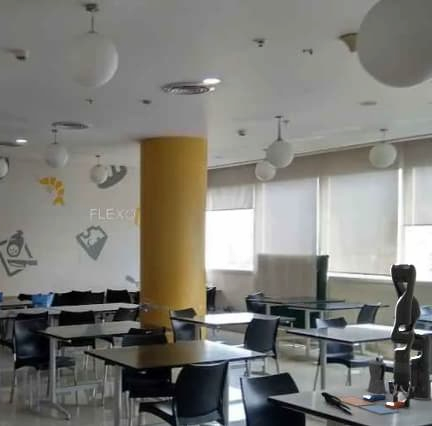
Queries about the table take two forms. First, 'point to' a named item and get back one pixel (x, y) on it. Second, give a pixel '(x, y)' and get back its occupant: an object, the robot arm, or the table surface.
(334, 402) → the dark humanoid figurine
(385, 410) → the blue mat
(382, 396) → the blue spoon
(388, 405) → the terracotta spoon
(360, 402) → the terracotta mat
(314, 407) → the table surface
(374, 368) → the coffeepot
